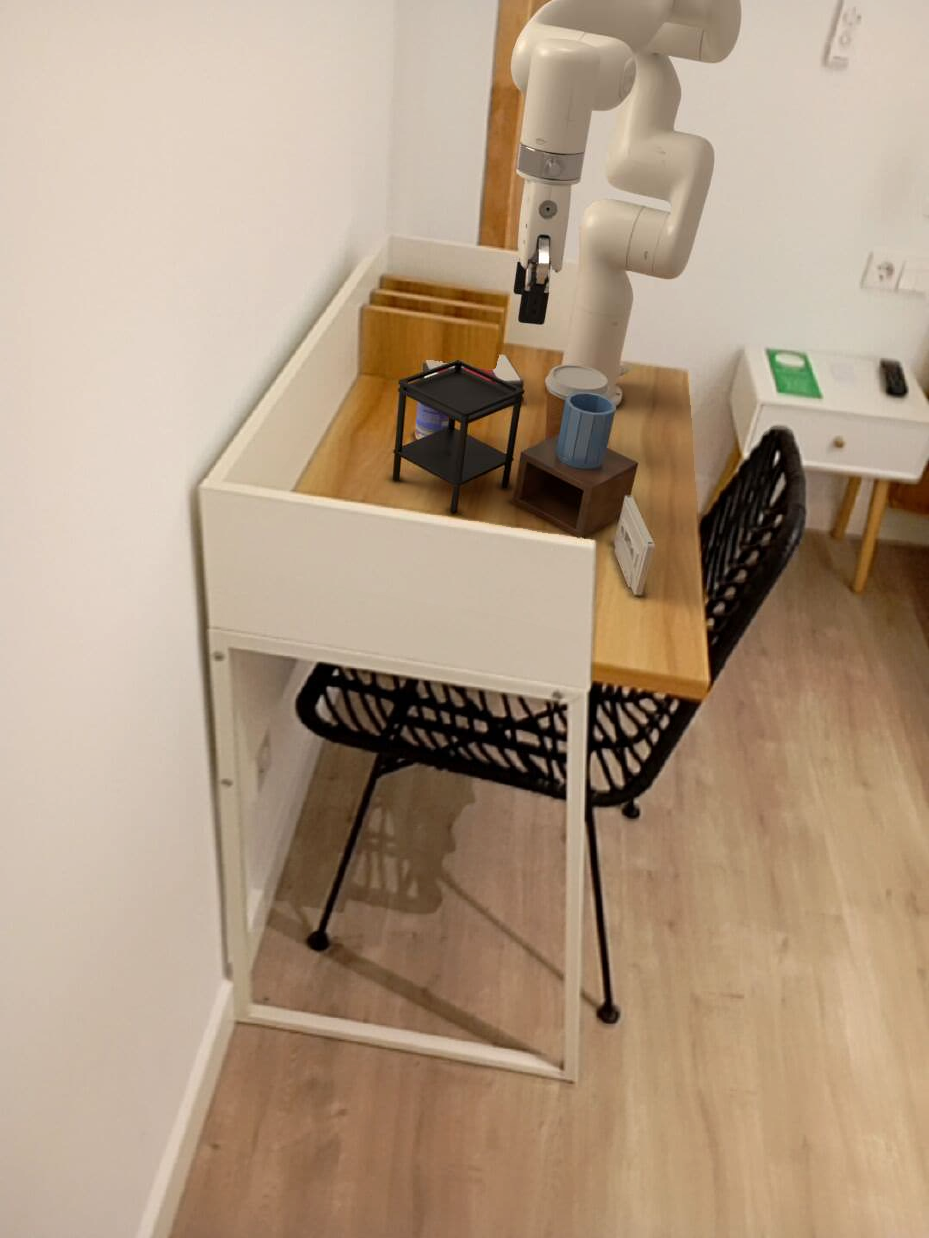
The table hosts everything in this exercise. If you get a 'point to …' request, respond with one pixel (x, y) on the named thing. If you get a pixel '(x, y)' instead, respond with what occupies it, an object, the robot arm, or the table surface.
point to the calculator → (488, 371)
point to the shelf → (573, 488)
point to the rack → (450, 447)
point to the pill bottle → (429, 420)
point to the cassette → (633, 546)
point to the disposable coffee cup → (569, 391)
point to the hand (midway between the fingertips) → (528, 308)
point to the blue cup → (585, 430)
